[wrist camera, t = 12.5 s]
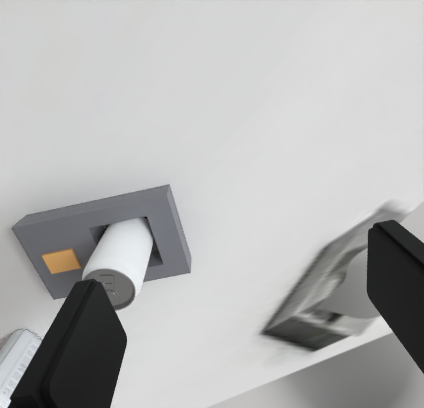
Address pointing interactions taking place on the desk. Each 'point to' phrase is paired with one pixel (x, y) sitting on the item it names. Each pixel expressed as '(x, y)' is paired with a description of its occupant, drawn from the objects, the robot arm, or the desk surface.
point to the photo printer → (15, 361)
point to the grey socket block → (93, 231)
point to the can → (121, 260)
